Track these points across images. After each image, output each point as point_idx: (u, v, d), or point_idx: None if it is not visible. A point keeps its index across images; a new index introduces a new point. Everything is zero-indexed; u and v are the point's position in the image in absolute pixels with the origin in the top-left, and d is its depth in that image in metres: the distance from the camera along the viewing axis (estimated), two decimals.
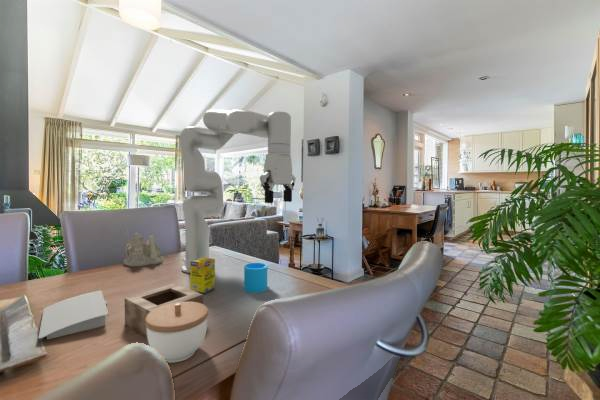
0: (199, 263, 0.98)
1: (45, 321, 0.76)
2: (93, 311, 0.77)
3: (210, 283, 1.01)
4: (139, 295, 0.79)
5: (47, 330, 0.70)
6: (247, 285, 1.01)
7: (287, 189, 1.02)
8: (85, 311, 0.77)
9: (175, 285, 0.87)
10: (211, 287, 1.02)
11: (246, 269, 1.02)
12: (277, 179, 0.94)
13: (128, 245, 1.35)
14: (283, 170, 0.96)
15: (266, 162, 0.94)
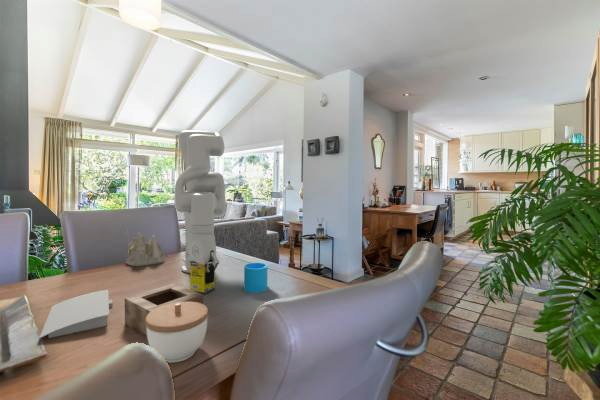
0: None
1: (50, 319, 0.77)
2: (96, 310, 0.77)
3: (210, 283, 1.01)
4: (139, 295, 0.79)
5: (49, 329, 0.71)
6: (247, 285, 1.01)
7: None
8: (87, 311, 0.77)
9: (175, 285, 0.87)
10: (211, 287, 1.02)
11: (246, 269, 1.02)
12: None
13: (130, 245, 1.35)
14: None
15: (208, 243, 0.97)
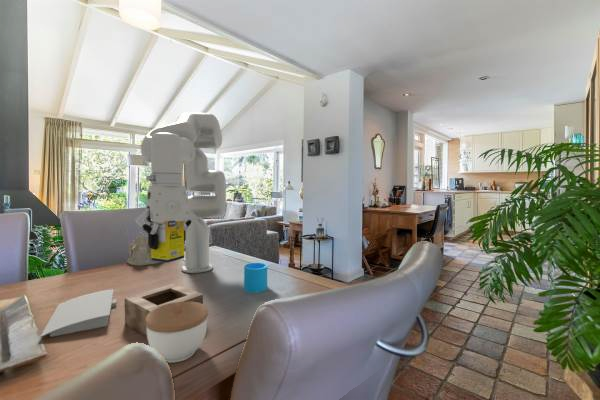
0: None
1: (54, 317, 0.77)
2: (97, 310, 0.78)
3: None
4: (139, 295, 0.79)
5: (51, 327, 0.72)
6: (247, 285, 1.01)
7: None
8: (89, 310, 0.78)
9: (175, 285, 0.87)
10: None
11: (246, 269, 1.02)
12: None
13: (132, 244, 1.36)
14: None
15: None
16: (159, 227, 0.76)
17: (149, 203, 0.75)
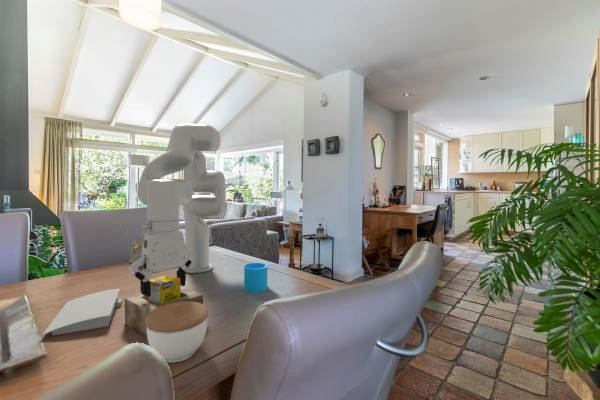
0: (173, 282, 0.78)
1: (59, 315, 0.78)
2: (99, 310, 0.78)
3: None
4: (139, 295, 0.79)
5: (53, 326, 0.72)
6: (247, 285, 1.01)
7: None
8: (92, 310, 0.78)
9: None
10: None
11: (246, 269, 1.02)
12: None
13: (134, 244, 1.37)
14: None
15: None
16: (154, 289, 0.76)
17: (146, 252, 0.73)
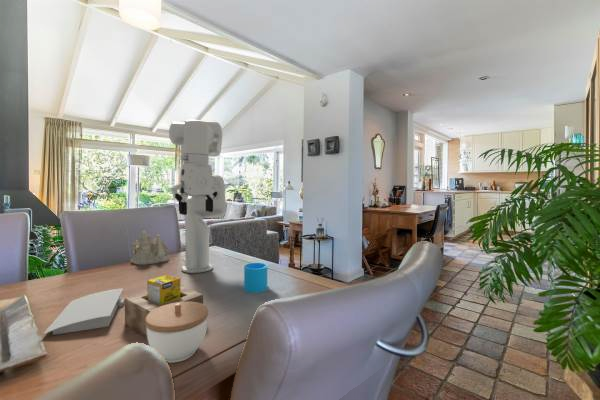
0: (173, 282, 0.78)
1: (61, 315, 0.79)
2: (100, 310, 0.78)
3: None
4: (139, 295, 0.79)
5: (55, 325, 0.73)
6: (247, 285, 1.01)
7: None
8: (93, 310, 0.78)
9: None
10: None
11: (246, 269, 1.02)
12: None
13: (135, 244, 1.37)
14: None
15: None
16: (154, 289, 0.76)
17: (183, 178, 0.91)
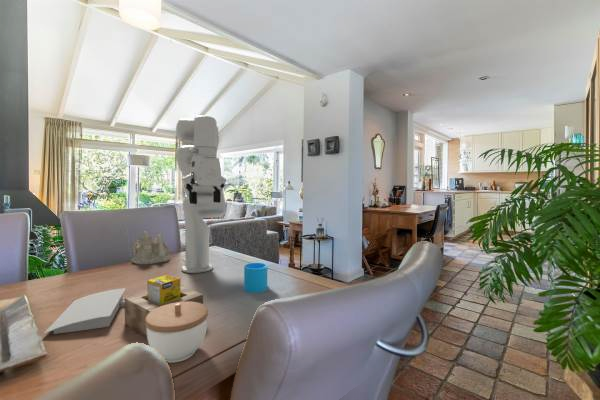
0: (173, 282, 0.78)
1: (63, 314, 0.79)
2: (101, 310, 0.78)
3: None
4: (139, 295, 0.79)
5: (56, 325, 0.73)
6: (247, 285, 1.01)
7: None
8: (94, 310, 0.78)
9: None
10: None
11: (246, 269, 1.02)
12: None
13: (136, 244, 1.38)
14: None
15: None
16: (154, 289, 0.76)
17: (193, 170, 0.97)
